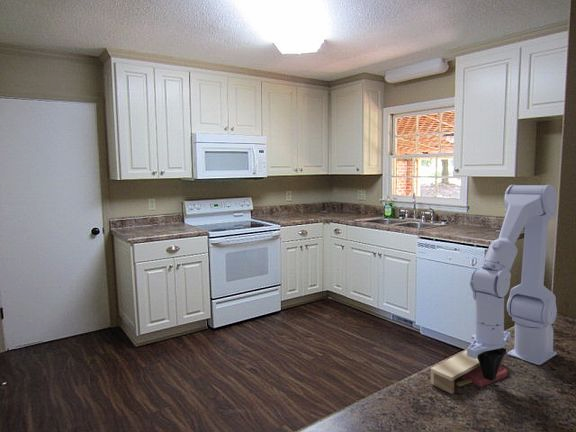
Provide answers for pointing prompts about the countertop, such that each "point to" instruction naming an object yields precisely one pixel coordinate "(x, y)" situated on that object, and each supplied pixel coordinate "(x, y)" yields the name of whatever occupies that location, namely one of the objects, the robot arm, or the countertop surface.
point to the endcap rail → (452, 370)
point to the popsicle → (481, 376)
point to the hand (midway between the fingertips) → (489, 378)
